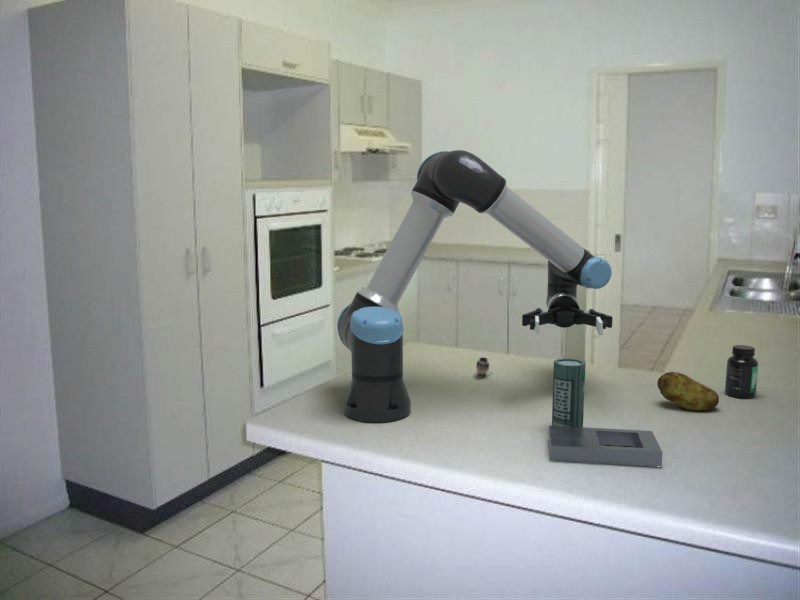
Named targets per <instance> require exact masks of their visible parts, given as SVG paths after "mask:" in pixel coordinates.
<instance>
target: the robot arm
mask: <svg viewBox="0 0 800 600" xmlns="http://www.w3.org/2000/svg"><path fill="white" fill-rule="evenodd" d="M507 182H508V181H507V179H506V178H504V177H503V176H502V175H501V174H499V173H498V172H497V171H496V170H495V169H494V168H492V167H491V166H490V165H489V164H487V162H485V161H484V160H483V159H481V158H480V157H479V156H477V155H475V154H474V153H472V152H470V151H467V150H461V149H456V150H455V149H454V150H452V151H438V152H435V153H432V154H431V155H429V156H428V157H426V158H425V159H424V160H423V161H422V162H421V164H420V165H419V167H418V169H417V173H416V181H415V184H414V186H413V188H412V190H411V191H410V194H411V198H412V203H411V204H410V206H409V208H408V210H407V211H406V213H405V216H404V217H403V220H402V221H401V224H400V225H399V227H398V229H397V230H396V233H395V234H394V236H393V238H392V240H391V241H390V243H389V246H388V247H387V249H386V251H385V253H384V255H383V257H382V258H381V260H380V262H379V264H378V266H377V268H376V269H375V271H374V273H373V275H372V277H371V279H370V280H369V282H368V284H367V287H365V288H363V289H359V290H357V292H356V294H355V295H354V297H353V299H352V300H351V302H350V304H348V305H347V306H346V307H344V308H343V309H342V310H341V312H340V313H339V316H338V319H337V323H336V326H337V327H336V328H337V333H338V336H339V339H340V341H341V343H342V344H343V346H345V348H347V349H348V350H349V351H350V352H351V380H350V381H351V382H350V385H349V388H348V391H347V395H346V397H345V398H346V399H345V402H344V414H345V415H346V416H347V417H348V418H350V419H352V420H355V421H358V422H364V423H388V422H394V421H399V420H401V419H404V418H406V417H408V416H409V415H410V414H411V412H412V404H411V403H412V402H411V399H410V396H409V393H408V390H407V387H406V384H405V381H404V341H403V340H404V337H403V336H404V324H403V318H402V315H401V314H400V310H399V308H398V305H399V302H400V300H401V298H402V296H403V295H404V294H405V291H406V289H407V287H408V285H409V284H410V282H411V280H412V278H413V276H414V274H415V272H416V271H417V269H418V267H419V265H420V264H421V261H422V260H423V258H424V256H425V254H426V252H427V250H428V248H429V247H430V245H431V243H432V241H433V240H434V238H435V235H436V234H437V232H438V231H439V229H440V226H441V225H442V223H443V221H444V220H445V219H446V218H448V217H452V216H454V213H455V212H456V210H457V208H458V207H459V204H460V203H462V204H465V205H467V206H468V207H470V208H472V209H473V210H475V211H476V212H478V213H479V214H487V215H488V216H490V217H491V218H493V219H494V220H495V221H497V222H498V223H499V224H500V225H502V226H503V227H504V228H505V229H507V230H508V231H510V233H512V234H513V235H514V236H516V237H517V238H519V240H521V241H523V243H525V244H526V245H528V246H529V247H530V248H532V250H534V251H536V252H537V253H538V254H539V255H541V256H542V257H543V258H544V259H546V260H547V285H546V286H547V288H546V289H547V291H546V301H545V302H546V303H545V304H546V307H547V311H544V310H543V309H542V308H540V307H537V308H536V309H535V310H533V311H530V312H527V313H524V314H522V315H521V325H522V326H523V327H526V326H529V330H530V331H531V330H532V331H535V332H534V333H535V334H536V335H537V334H538V335H539V334H540V326H543V325H546V324H549V325H550V324H551V325H555V326H557V327H559V328H561V329H562V328H563V329H566V328H570V327H572V326H574V325H577V326H580V325H587V326H591V327H594V328H595V330H596V332H597V334H598V335H599V336H603V334H604V332H603V330H606V329H607V328H608V329H611V328H613V316H612V315H608V314H605V313H601V312H599V311H596V310H595V309H593V308H591V309H588V310H587V312H585V311H584V310H583V309H580V305H579V303H578V300H577V299H578V298H577V297H578V296H577V295H578V286H581V287H584V288H586V289H593V290H598V289H599V290H600V289H602V288H604V287H606V286H607V285H608V283H609V282H610V280H611V278H612V272H613V271H612V267H611V265H610V263H609V261H608V260H607V259H604V258H602V257H599V256H596V255H593V254H592V253H591V252H590V251H589V250H587V249H586V248H584V247H583V246H582V245H580V244H579V243H578V242H577V241H576V240H574V239H573V238H572V237H571V236H569V235H568V234H567V233H565V232H564V231H563V230H562V229H561V228H560V227H558V226H557V225H556V224H555V223H553V222H552V221H551V220H549V219H548V218H547V217H546V216H544V215H543V214H542V213H541V212H540V211H538V210H537V209H536V208H534V206H532V205H531V204H530V203H528V202H527V201H526V200H524V198H522V197H521V196H519V195H518V193H516V192H515V191H514V190H513V189H511V188H509V187H508V183H507Z"/></svg>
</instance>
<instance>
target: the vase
mask: <svg viewBox="0 0 800 600" xmlns="http://www.w3.org/2000/svg"><path fill="white" fill-rule="evenodd" d="M488 360H489V359H488V358H487V357H479V359H478V360H477V361H476V365H475V366H476V367H475V370H474V371H475V373H474V374H473V375H474V376H477V375H481V376H480V377H485V376H484V375H487V376H492V375H494V372H492V371H489V370H490V362H489V361H488ZM475 374H476V375H475Z"/></svg>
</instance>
